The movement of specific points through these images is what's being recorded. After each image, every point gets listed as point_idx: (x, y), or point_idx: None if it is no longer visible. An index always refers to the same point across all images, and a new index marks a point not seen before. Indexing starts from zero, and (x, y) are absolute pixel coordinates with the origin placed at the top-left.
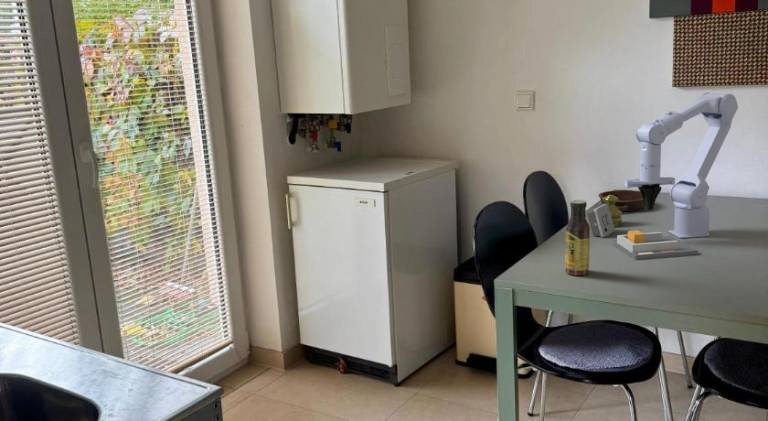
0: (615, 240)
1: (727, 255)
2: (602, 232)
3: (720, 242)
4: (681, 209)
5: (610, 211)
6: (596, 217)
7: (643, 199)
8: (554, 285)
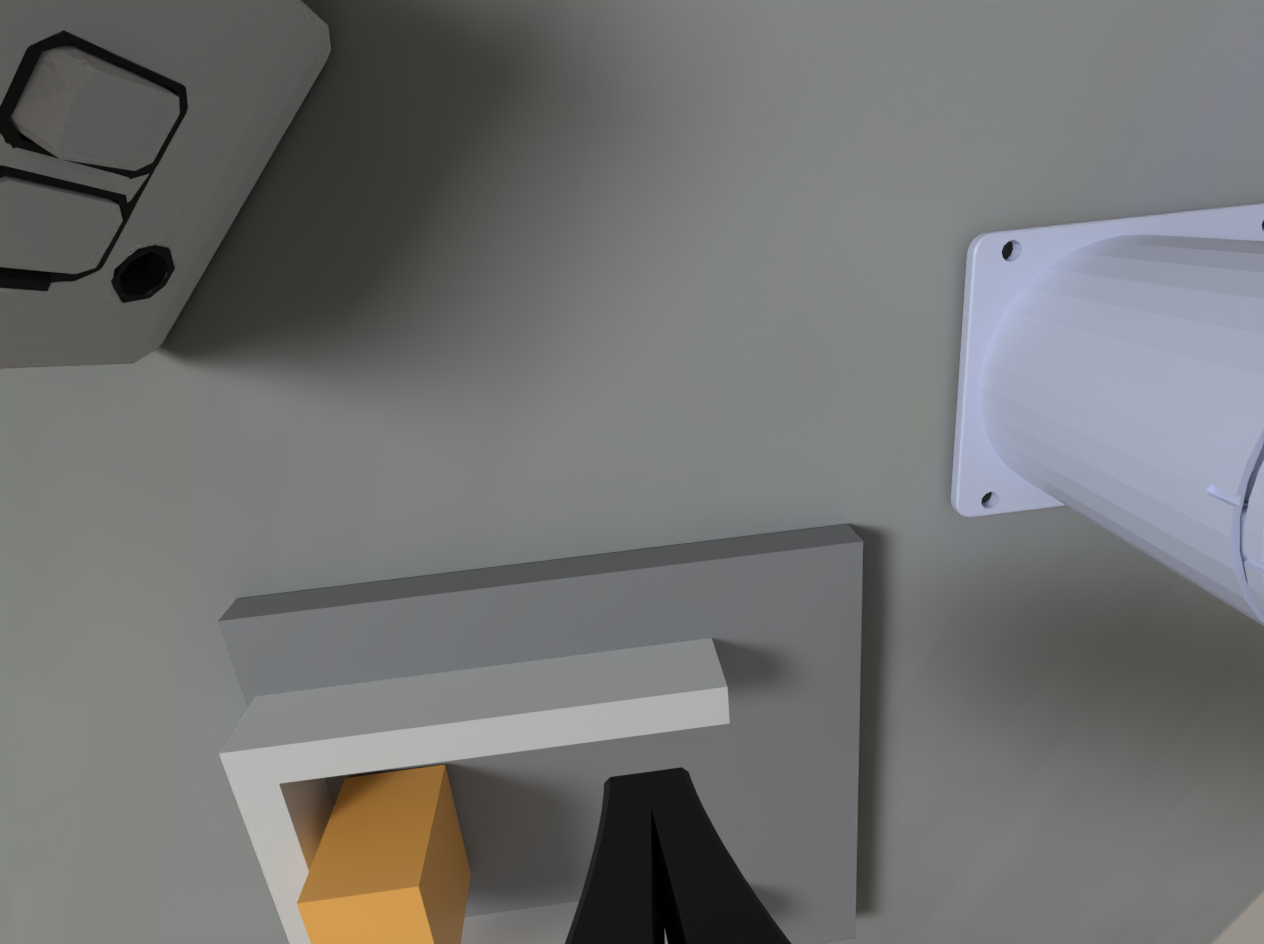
0: (249, 620)
1: (1021, 930)
2: (96, 363)
3: (1192, 655)
4: (1238, 598)
5: None
6: None
7: (571, 939)
8: None
